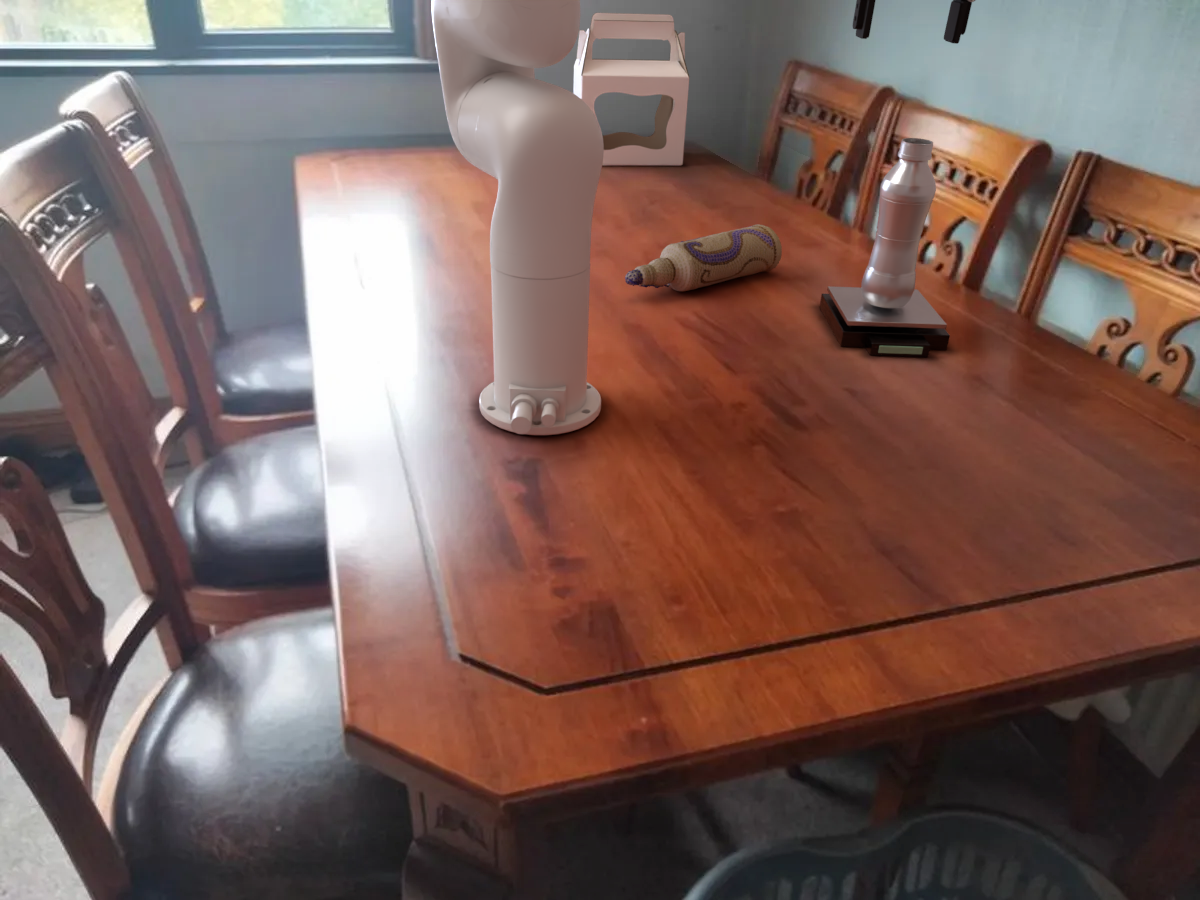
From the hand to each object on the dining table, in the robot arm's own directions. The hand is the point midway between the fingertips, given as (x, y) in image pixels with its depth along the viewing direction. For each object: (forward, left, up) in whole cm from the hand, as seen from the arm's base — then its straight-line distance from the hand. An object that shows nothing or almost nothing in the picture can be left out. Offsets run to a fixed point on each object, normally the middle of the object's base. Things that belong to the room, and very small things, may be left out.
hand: (906, 39), depth 98 cm
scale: (+1, -4, -34) cm, 34 cm away
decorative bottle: (+17, +18, -34) cm, 42 cm away
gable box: (+92, +27, -34) cm, 102 cm away
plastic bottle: (+2, -4, -31) cm, 31 cm away
